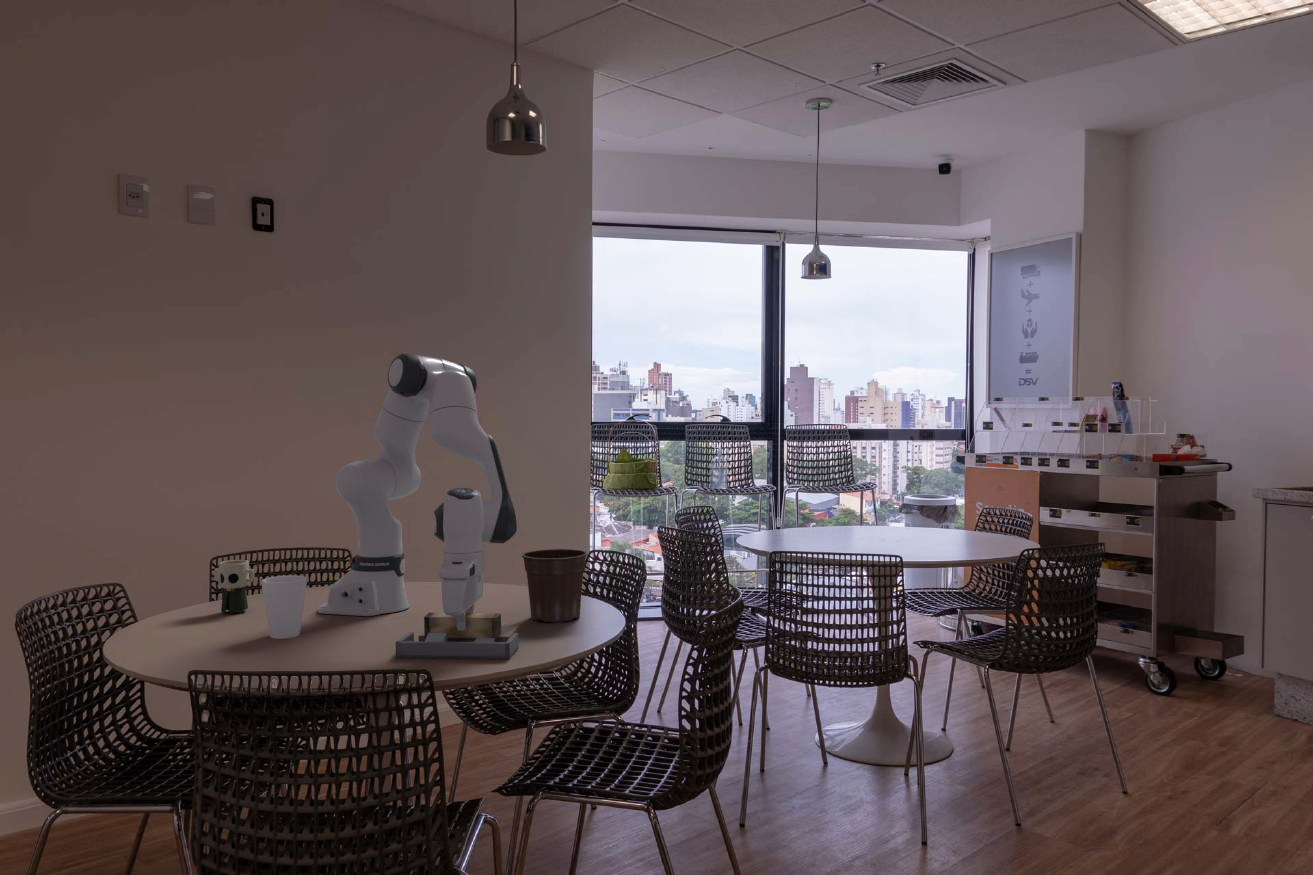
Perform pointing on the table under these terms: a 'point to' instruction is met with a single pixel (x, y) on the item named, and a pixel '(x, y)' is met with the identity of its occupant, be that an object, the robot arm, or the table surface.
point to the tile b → (485, 640)
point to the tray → (455, 649)
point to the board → (505, 635)
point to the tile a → (436, 637)
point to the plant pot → (555, 583)
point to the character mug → (234, 584)
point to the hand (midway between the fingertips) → (464, 626)
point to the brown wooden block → (476, 625)
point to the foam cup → (284, 605)
